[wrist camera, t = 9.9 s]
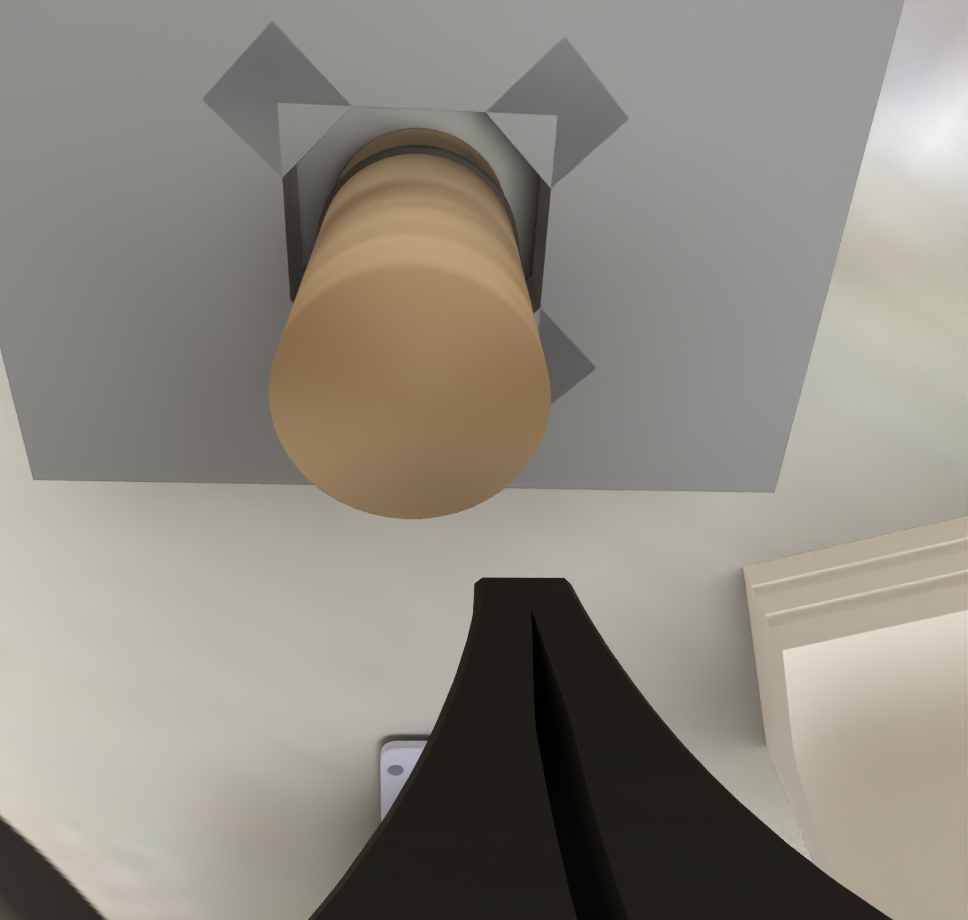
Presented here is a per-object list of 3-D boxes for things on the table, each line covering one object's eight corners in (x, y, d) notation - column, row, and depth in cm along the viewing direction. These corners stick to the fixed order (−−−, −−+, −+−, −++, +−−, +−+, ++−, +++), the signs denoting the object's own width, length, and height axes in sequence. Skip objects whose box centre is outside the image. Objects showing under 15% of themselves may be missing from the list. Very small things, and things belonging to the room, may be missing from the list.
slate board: (749, 451, 24) (774, 492, 22) (63, 437, 23) (33, 480, 21) (874, -64, 18) (920, -62, 16) (-62, -120, 17) (-119, -125, 15)
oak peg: (500, 311, 22) (537, 529, 14) (327, 299, 21) (267, 516, 14) (520, 133, 20) (575, 274, 12) (327, 116, 19) (256, 251, 11)
